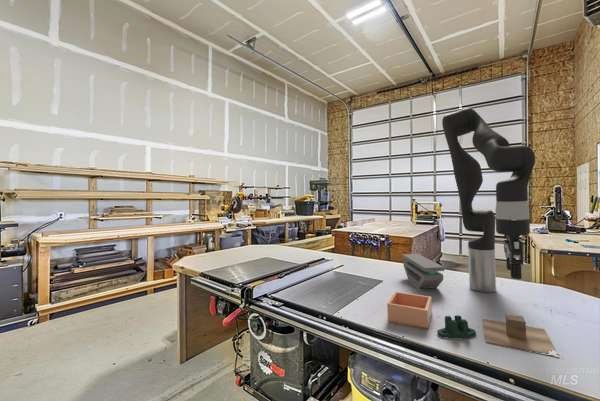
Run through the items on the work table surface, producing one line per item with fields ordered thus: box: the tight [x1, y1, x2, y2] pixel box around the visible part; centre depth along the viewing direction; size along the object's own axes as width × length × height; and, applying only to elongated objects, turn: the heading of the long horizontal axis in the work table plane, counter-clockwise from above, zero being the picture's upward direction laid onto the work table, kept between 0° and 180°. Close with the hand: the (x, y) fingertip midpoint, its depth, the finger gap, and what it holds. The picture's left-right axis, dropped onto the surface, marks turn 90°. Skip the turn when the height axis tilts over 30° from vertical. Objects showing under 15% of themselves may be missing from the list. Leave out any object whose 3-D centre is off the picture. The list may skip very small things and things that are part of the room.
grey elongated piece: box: [401, 253, 445, 289], centre depth 122 cm, size 25×8×11 cm, turn 179°
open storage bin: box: [386, 291, 433, 330], centre depth 90 cm, size 12×12×6 cm
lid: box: [482, 313, 556, 354], centre depth 76 cm, size 15×15×6 cm
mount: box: [436, 314, 477, 339], centre depth 79 cm, size 11×4×5 cm, turn 91°
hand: (513, 274), depth 76 cm, fingers open, 8 cm apart
